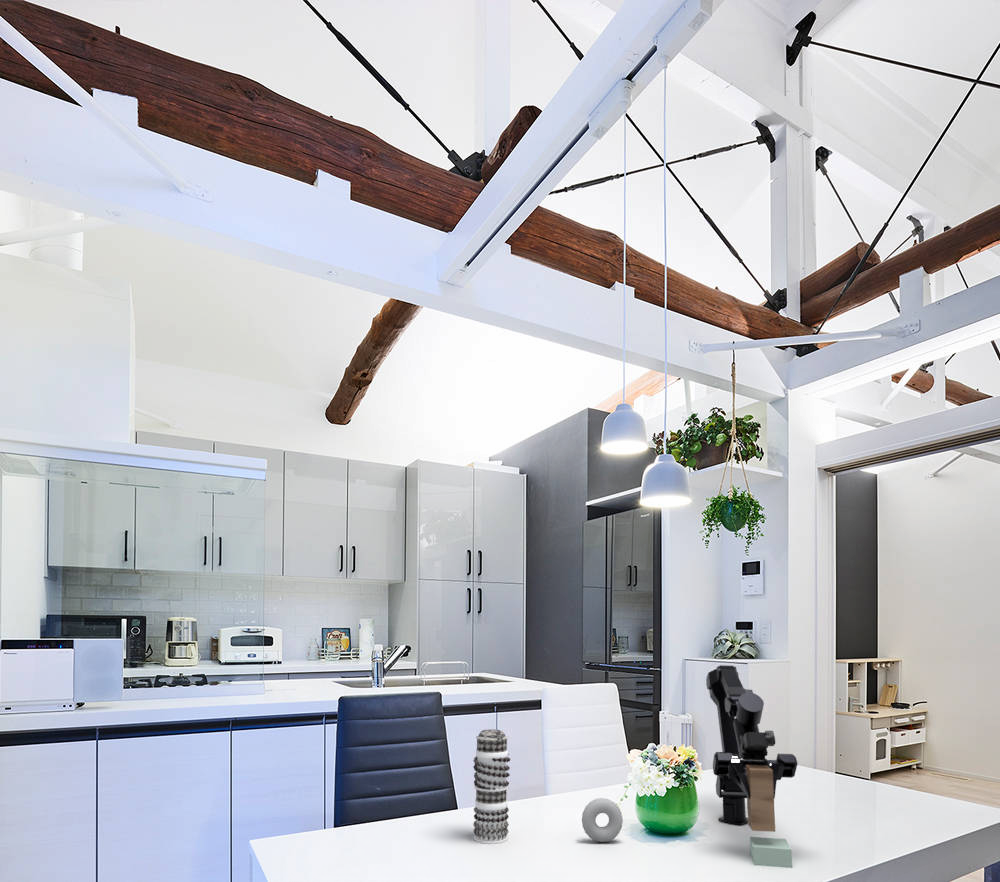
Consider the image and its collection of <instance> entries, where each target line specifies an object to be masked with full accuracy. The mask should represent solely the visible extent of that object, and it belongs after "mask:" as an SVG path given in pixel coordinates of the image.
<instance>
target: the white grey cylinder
mask: <svg viewBox="0 0 1000 882" xmlns="http://www.w3.org/2000/svg"><path fill="white" fill-rule="evenodd" d="M475 738H476V749H475V750H476V751H475V755H476V756H475V757H474V758H473V762H474V765H473V767H472V768H473V770H474V771H475V772H474V774H473V777H474V781H473V785H474V789H475V791H476V793H475V795H476V797H475V801H474V802H475V805H474V806H475V807H474V808H473V812H474V813H475V814H474V815H473V818H474V820H475V821H474V822H473V827H474V829H473V833H474V835H473V840H474V841H475V842H476V843H480V844H485V843H486V844H488V845H491V844H492V845H496V844H503V843H506V842H507V841H508V840H509V837H508V834H509V829H508V827H509V825H510V824H509V822H508V819H509V817H510V816H509V815H508V812H509V811H510V810H509V808H508V799H507V796H508V795H507V790H508V789H509V785H510V782H509V781H508V780H507V779H508V778H509V777H510V773H509V772H508V771H509V770H510V766H509V765H507V763H509V762H510V761H511V758H510V757H509V755H510V754H509V752H508V751H509V750H508V739H509V737H508V736H507V735H506V734H505V732H504V731H503V730H501V729H493V728H492V729H483V730H481V731H480V732H479V733H478V735H476V737H475ZM505 841H506V842H505ZM502 842H503V843H502Z"/></svg>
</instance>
